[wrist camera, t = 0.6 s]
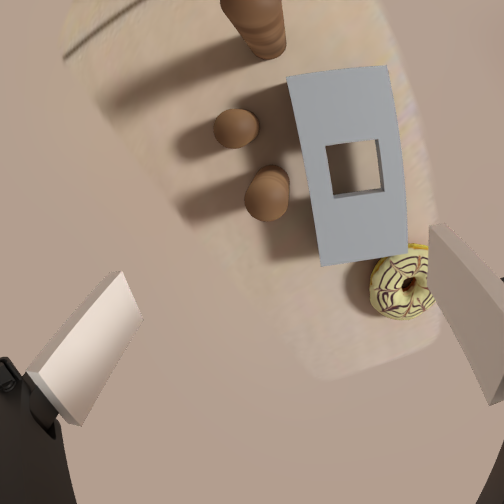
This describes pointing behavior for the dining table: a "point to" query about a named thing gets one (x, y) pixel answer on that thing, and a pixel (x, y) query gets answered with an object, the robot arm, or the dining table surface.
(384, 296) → the decorated donut
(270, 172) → the medium dowel
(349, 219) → the bridge
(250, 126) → the short dowel
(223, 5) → the long dowel
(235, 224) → the dining table surface
